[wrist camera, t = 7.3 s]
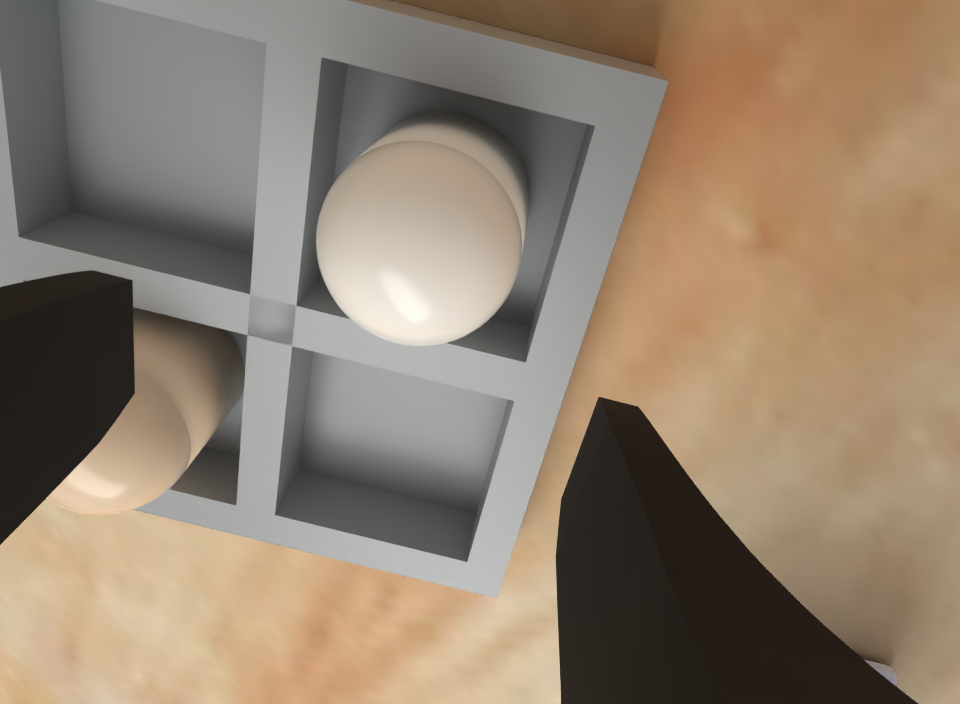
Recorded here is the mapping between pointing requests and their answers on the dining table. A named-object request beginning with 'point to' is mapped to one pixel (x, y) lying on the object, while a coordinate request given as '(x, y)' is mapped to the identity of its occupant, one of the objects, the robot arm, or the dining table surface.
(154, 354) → the brown egg
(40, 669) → the dining table surface
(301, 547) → the egg carton
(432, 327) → the white egg
